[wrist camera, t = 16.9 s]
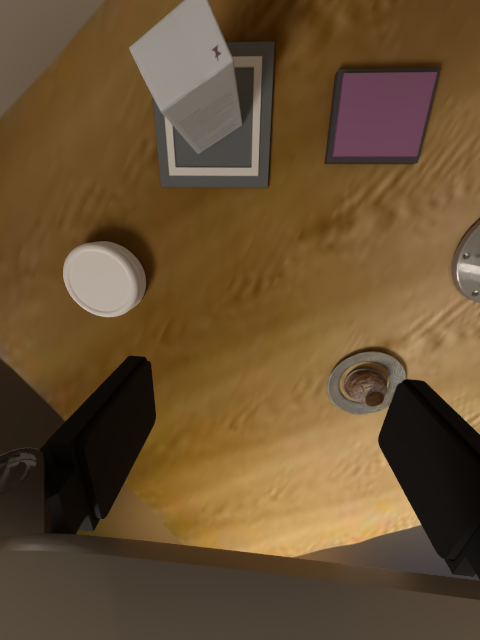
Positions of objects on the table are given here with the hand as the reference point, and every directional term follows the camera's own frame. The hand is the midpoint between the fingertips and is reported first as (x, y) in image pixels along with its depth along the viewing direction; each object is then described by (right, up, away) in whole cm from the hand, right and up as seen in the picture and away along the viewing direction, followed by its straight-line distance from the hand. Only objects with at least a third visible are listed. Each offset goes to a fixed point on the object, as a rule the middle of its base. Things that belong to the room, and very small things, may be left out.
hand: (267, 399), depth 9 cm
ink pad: (+14, +25, +18) cm, 33 cm away
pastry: (+19, -7, +31) cm, 37 cm away
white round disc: (-19, +9, +26) cm, 34 cm away
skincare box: (-4, +25, +18) cm, 31 cm away
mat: (-4, +25, +18) cm, 32 cm away
